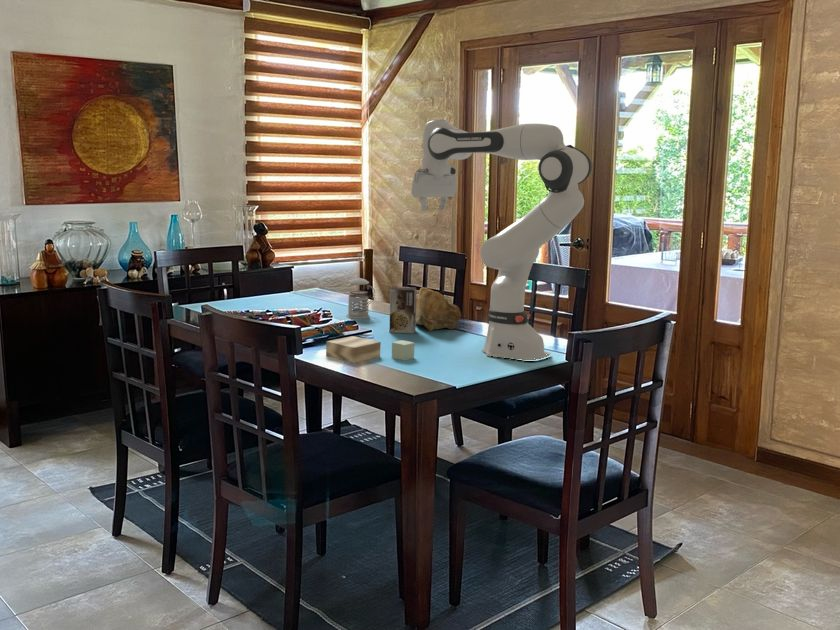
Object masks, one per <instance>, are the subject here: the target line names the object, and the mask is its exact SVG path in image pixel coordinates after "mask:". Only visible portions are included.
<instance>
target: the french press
mask: <svg viewBox="0 0 840 630" xmlns="http://www.w3.org/2000/svg"><path fill="white" fill-rule="evenodd" d="M357 257H359V258H358V260H359V261H358V262H359V264H358V273H360V272H361V271H360V270H361V269H360V267H361V264H360V263H361V257H363V254H362V253H357ZM348 283H349V284H351V285H358V286H362V285H363V286H365V285H366V289H367V290H369V289H370V288H371V290H372V297H371V300H369V296H368V295H367V294H368V293H369V292H368V291H364V290H351V291H349V293H350V294H349V295H348V312H347V314H346V315H345V317H346V318H349V319H354V320H355V319H357V320H360V319H361V320H363V319H370V318H371V316H370V314H369V305H370V304H372V303H373V302H374V300H375V298H376V291H375V288H374V287H373V286H371V285H369V284H370V281H368V280H367V279H364V278H361V277H360V276H358V277H356V278H351V279H350V280H348Z"/></svg>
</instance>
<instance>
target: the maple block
mask: <svg viewBox="0 0 840 630" xmlns="http://www.w3.org/2000/svg"><path fill="white" fill-rule="evenodd" d="M325 344H326V345H325V348H326V349H325V354H326V355H325V356H326V357H329V358H334V359H338V360H341V361H345V362H350V363H353V364H355V363H357V362H358V363H359V362H362V361H367V360H371V359H376V358H380V357H381V341H377V340H373V339H369V338H363V337H359V336H356V335H355V336H354V335H351V336H347V337H342V338H335V339H331V340H326V343H325Z"/></svg>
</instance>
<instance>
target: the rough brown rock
mask: <svg viewBox="0 0 840 630" xmlns="http://www.w3.org/2000/svg"><path fill="white" fill-rule="evenodd" d="M461 318H462V312H461V310H460V307H459V306H458V305H456V304H453V303H450V302H449V301H448V299H446V297H445V296H444V295H443V294H442V293H441V292H439V291H435V290H433V289H430V288H429V287H424V286H423V287H422V286H421V287H420V288H419V291H418V294H417V297H416V322H415V324H418V325H420V326H424V327H425V328H426V329H427V330H428V331H434V330H441V329H444V328H446V329H448V330H454V329H455V328H456V327H457V324H458V322H459V320H460V319H461Z"/></svg>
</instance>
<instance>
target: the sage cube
mask: <svg viewBox="0 0 840 630" xmlns="http://www.w3.org/2000/svg"><path fill="white" fill-rule="evenodd" d="M414 357H415V342H413V341H408V340H403V339H400V340H397V341H392V342H391V358H392V359H396V360H400V361H407V360H411V359H414Z"/></svg>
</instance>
